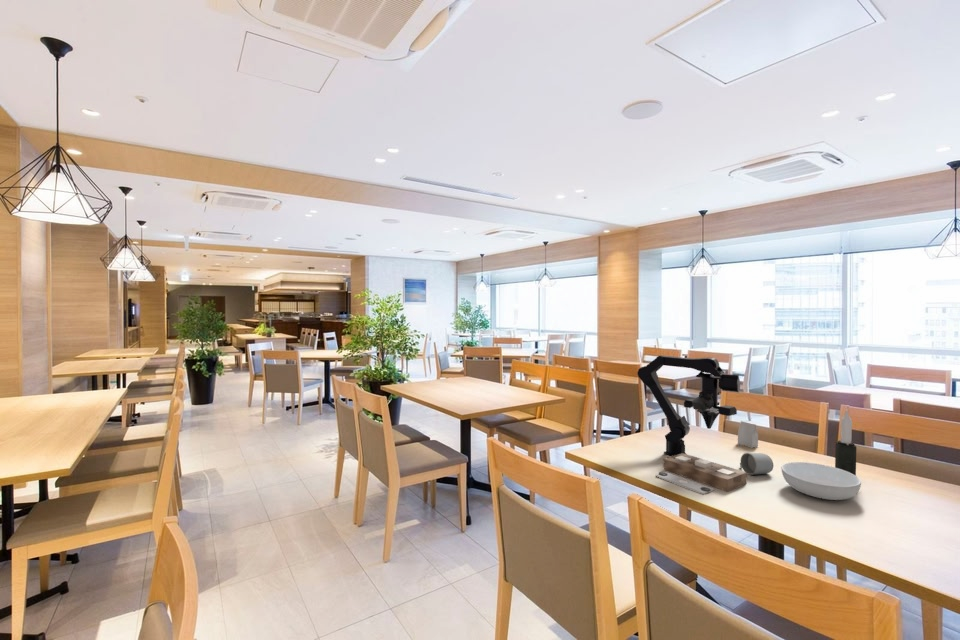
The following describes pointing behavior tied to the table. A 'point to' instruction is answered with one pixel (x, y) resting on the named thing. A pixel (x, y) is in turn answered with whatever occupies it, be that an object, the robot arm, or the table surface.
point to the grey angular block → (748, 434)
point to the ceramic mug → (756, 463)
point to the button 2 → (725, 472)
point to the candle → (846, 447)
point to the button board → (706, 473)
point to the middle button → (703, 463)
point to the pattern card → (684, 482)
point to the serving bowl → (821, 480)
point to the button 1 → (683, 458)
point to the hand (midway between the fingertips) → (708, 428)
